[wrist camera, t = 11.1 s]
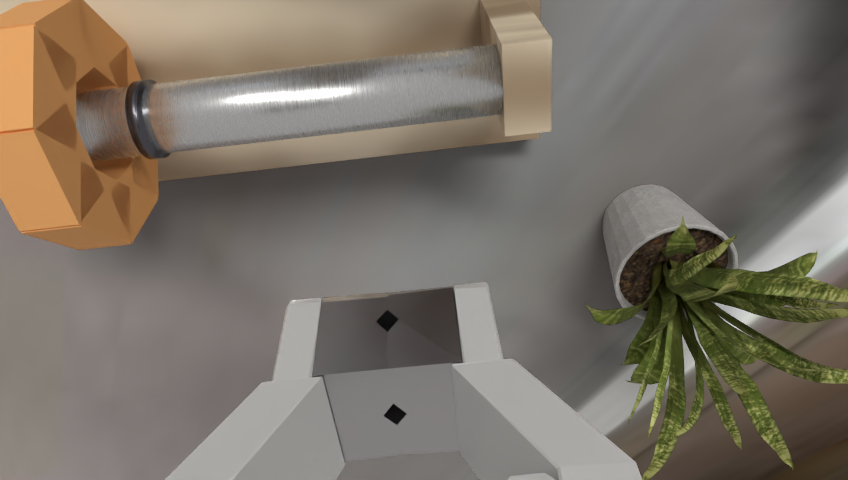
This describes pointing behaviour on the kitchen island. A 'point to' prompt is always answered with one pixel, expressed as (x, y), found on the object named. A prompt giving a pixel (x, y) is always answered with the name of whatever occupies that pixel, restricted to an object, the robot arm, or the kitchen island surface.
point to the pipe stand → (329, 43)
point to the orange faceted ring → (65, 128)
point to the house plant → (703, 312)
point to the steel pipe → (290, 103)
